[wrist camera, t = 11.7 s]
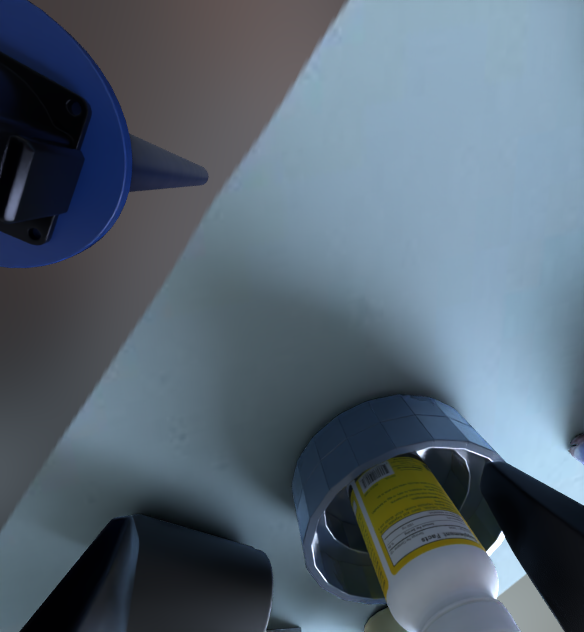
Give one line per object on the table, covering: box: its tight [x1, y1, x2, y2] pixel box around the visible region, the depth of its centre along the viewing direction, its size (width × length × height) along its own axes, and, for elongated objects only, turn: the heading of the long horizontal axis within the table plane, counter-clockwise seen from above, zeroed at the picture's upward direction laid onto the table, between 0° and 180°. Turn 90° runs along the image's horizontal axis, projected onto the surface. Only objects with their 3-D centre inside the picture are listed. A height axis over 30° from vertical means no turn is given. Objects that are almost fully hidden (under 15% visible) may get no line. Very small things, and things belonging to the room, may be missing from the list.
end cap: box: [126, 514, 273, 632], centre depth 23 cm, size 10×7×7 cm
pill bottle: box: [347, 452, 521, 632], centre depth 21 cm, size 6×6×11 cm
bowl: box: [292, 394, 505, 604], centre depth 24 cm, size 14×14×5 cm
